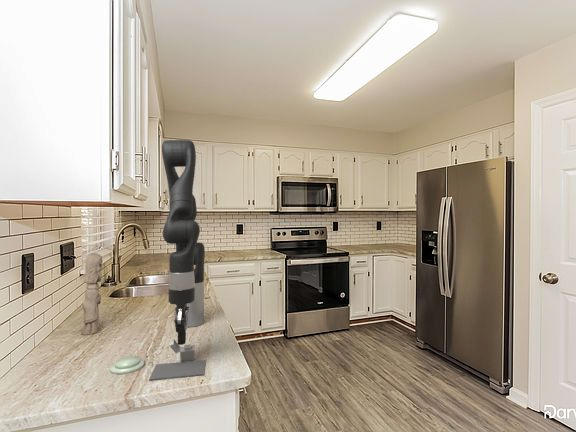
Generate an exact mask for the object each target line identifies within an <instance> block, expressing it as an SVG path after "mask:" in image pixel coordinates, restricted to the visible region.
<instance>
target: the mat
mask: <svg viewBox="0 0 576 432" xmlns="http://www.w3.org/2000/svg"><path fill="white" fill-rule="evenodd" d="M205 368H206V359H198V360H189V361H182V362H181V361H177V362H167V363H155V365H154V368H153V370H152V372H151V374H150V377H149V378H148V381H149V382H151V381H152V382H153V381H161V380H171V379H172V380H173V379H181V378H192V377H200V376H201V377H202V376H205Z"/></svg>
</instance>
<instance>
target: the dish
mask: <svg viewBox="0 0 576 432" xmlns="http://www.w3.org/2000/svg"><path fill="white" fill-rule="evenodd" d="M144 366H145V359H144V358H142V357H139V356H136V355H128V356H123V357H121V358H118V359H117V360H115V362H113V363H111V364H110V366H109V372H110V373H111V374H113V375H127V374H131V373H134V372H137V371H139V370H141V369H142V368H144Z"/></svg>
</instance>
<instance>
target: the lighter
mask: <svg viewBox="0 0 576 432" xmlns="http://www.w3.org/2000/svg"><path fill="white" fill-rule="evenodd" d="M168 344H169V345H168V346H169V347H170V348H171V349H172V351H173V353H174V354H178V353H180V356H179V357H180V358H179V359H180V361H179V362H186V361H196V360H195V359H196V358H195V357H196V355H195V354H196V347H195V346H196V345H191V344H184V345H183V346H181V345H178V341H177V340H175V339H172V340H169V343H168Z"/></svg>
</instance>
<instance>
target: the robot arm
mask: <svg viewBox="0 0 576 432" xmlns="http://www.w3.org/2000/svg"><path fill="white" fill-rule="evenodd" d="M161 155H162V160H163V165H164V170H165V175H166V176H165V177H166V179H167V180H166V181H167V186H168V193H169V210H168V215H167V218H166V221H165V224H164V226H163V229H162V237H163V240H164V241H165V242H166V243H167V244H170V245H175V251H173V252H171V253H170V254H169V259H168V260H169V265H168V267H169V273H168V303H169V304H171V305H175V306H176V307H175V309H174V311H173V315H174V320H173V321H174V327H175V333H177V344H178V345H179V346H181V345H183V346H184V345H186V343H187V342H186V341H187V329H188V328H192V327H193V328H194V327H199V326H201V325H203V324H204V323H205V258H206V257H205V254H206V250H205V245H204V243H203V242H198V241H199V237H200V232H201V228H200V225H199V223H198V222H197V221H196V218H197V215H198V212H197V201H196V197H195V195H194V194H193V192H194V190H193V189H194V181H195V174H196V164H197V161H196V160H197V154H196V147H195V144H194V142H193V141H192V140H190V139H189V140H188V139H174V140H172V139H171V140H164V141H162V143H161ZM177 167H178V168H180V167H182V168H183V167H185V168H184V170H183V172H182V173H181V175H180V176H179V175H178V171H176V168H177Z"/></svg>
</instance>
